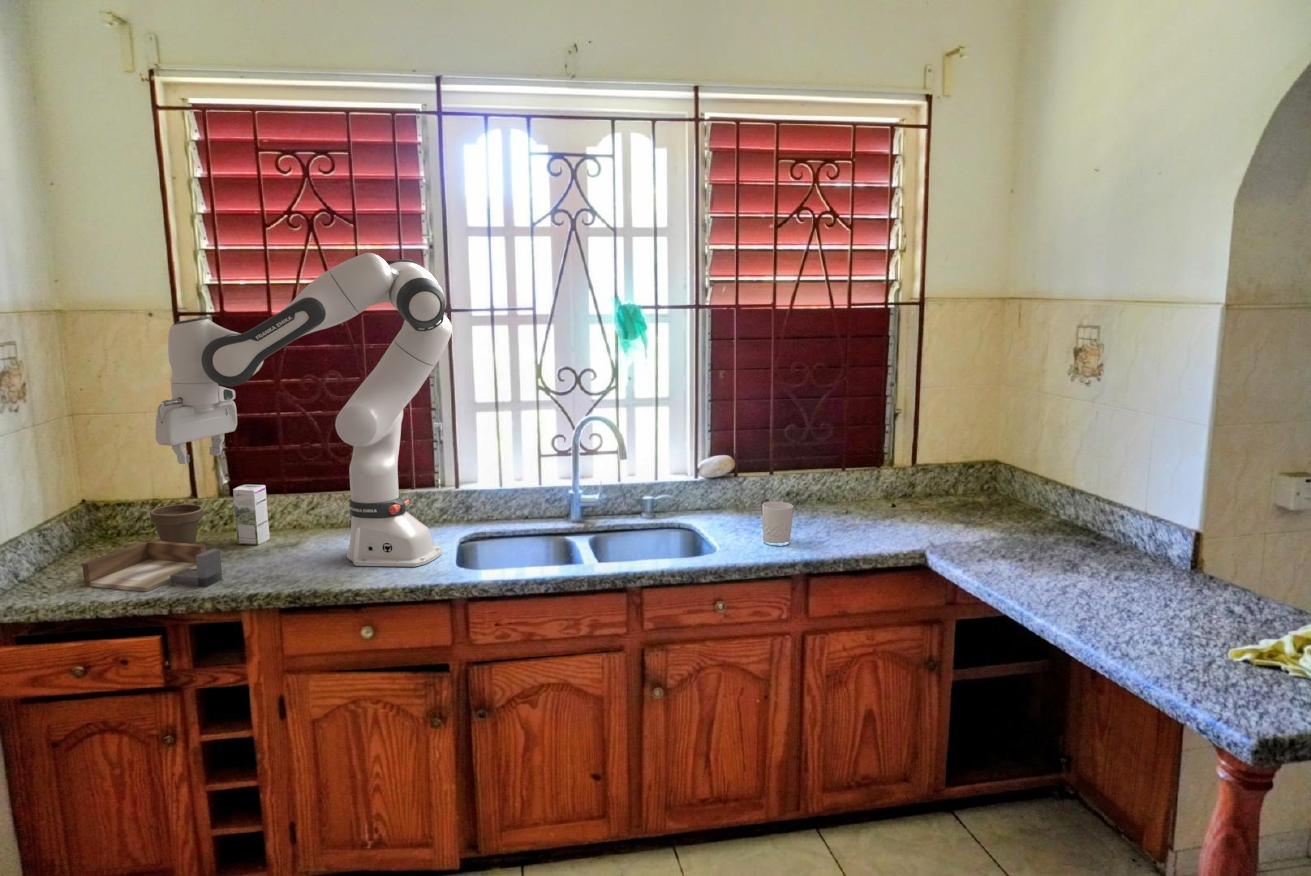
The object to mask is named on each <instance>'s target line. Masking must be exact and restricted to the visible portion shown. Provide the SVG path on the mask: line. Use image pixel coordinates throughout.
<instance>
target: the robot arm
mask: <svg viewBox="0 0 1311 876" xmlns="http://www.w3.org/2000/svg"><path fill="white" fill-rule="evenodd" d="M380 303H390V304H391V305H392V306H393V308H395V310H397V311H398V312H399V314H400V315H401V317H402V318H403V319H404V321H403V324H402V327H401V329H400V330H399V331H398V333H397V335H396V336H395V337H394V339H393V340H392V342H391V344H389V346H388V348H387V349H386V350H385V353H384V354H383V355H382V356H381V358H380V360H379V362H378V363H377V364H376V366H375V367H374V369H373V370H372V371H371V372H370V373H369V374H368V376H367V377H366V378H365V379H364V380H363V382H362V383H361V384H360V386H358V388H357V389H356V390H355V391H354V393H353V394H352V395H351V397H350V398H349V399H348V401H347V402H346V403H345V405H344V406H343V407H342V408H341V410H340V411H339V413H337V416H336V419H335V424H334V425H335V430H336V433H337V435H338V437H339V438H340V439H341V440H342V441H343V442H344V443H345V444H348V445H349V446H353V448H352V449H353V450H352V455H351V461H350V463H349V467H348V470H349V473H348V475H349V488H350V498H349V501H348V506H349V507H348V509H349V516H350V520H351V522H350V524H351V525H350V526H351V527H350V538H349V545H348V549H347V553H346V558H347V559H348V560H350V561H351V562H352V564H353V566H358V567H411V568H412V567H413V568H414V567H420V566H423V565H425V564H428V563H431V562H432V561H434V560H436V559H438V557H440V556H441V555H442V554H443V548H442V546H440V545H435V544H434V543H433V537H432V534H431V533H432V532H431V530H430V528H429V527H427V526H426V525H425V524H423V523H422V522H421V521H419V520H418V519H417V518H416V517H414V516H413V515H411V513H409V512H408V511H407V509H406V506H408V505H409V504H410V500H409V499H407V500H403V499H402V497H401V495H400V494H399V493H400V492H399V474H398V473H399V469H398V467H399V466H398V465H399V463H398V462H399V454H400V453H399V452H400V444H401V432H402V422H403V419H404V409H405V408H406V407H407V405H408V404H409V403H410V402H411V400H412V399H413V398H414V397H415V396H416V395H417V394H418V392H419V391H420V389H421V388H422V386H423V385H424V383H425V382H426V380H427V379H428V378H429V375H430V374H431V373H432V371H433V370H434V369H435V367H436V366H437V364H438V363H439V361H440V359H441V357H442V356H443V353H445V350H446V348H447V346H448V344H449V341H450V338H451V336H452V334H453V325H452V323H451V320H449V318H448V317H447V316H446V314H445V309H446V296H445V293H444V291H443V288H442V287H441V285H440V284H439V282H438V281H437V279H436V278H435V277H434V275H432V273H430V272H429V271H428V270H426V268H425V267H424V266H423V264H420V263H419V262H417V261H414V260H411V259H405V258H403V259H401V258H400V259H397V260H385V259H383V258H382V257H381V256H380V255H378V254H376V253H372V252H365V253H362V254H359V255H357V256H355V257H352V258H349V259H346V260H344V261H343V262H341V263H339V264H337V265H335V266H333V267H332V268H330V269H329V270H326V271H325V272H323V273H321V275H319V276H318V277H316V278H315V279H314V280H312V281H311V282H310V283H309V284H308V285H307V286H306V287H304V289H302V290H301V291H300V292H299V293H298V295H297V296H296V297H294V299H293V300H292V301H291V302H290V303H289V304H288V305H287V306H286V307H284V308H283V309H282V310H280V312H278V313H276V314H274V315H272V316H271V317H269V318H268V319H266V320H264V321H263V322H261V323H259V324H258V325H256V326H255V327H253V328H251V329H249V330H247V331H245V332H243V333H240V332H237V331H233V330H230V329H227V328H225V327H223V326H220V325H218V324H217V323H215V322H213V321H212V320H211V319H209V318H207V317H197V318H196V317H195V318H189V319H184V320H180V321H175V322H174V323H173V324H172V325H171V326H170V327H169V331H168V335H167V336H168V340H167V347H168V349H167V352H168V362H169V365H170V367H171V377H170V391H171V399H165V400H163V401H161V403H160V404H159V406H157V410H156V411H157V412H156V418H155V430H154V431H155V432H154V433H155V441H156V443H157V444H158V445H160V446H169V447H170V446H171V449H172V451H173V453H174V454H175V456H176V457H177V458H176V459H177V460H176V461H177V464H179V465H186V464H189V463H190V462H191V459H190V454H187V453H186V451H185V448H186V443H190V442H193V441H197V440H202V439H206V438H211V439H213V440H212V444H211V445H212V446H211V447H209V455H210V456H220V455H221V454H222V446H223V443H224V440H225V434H227V433H232V432H235V431H236V429H237V426H238V415H237V414H238V413H237V412H238V411H237V406H236V402H235V401H234V400H235V399H236V391H235V390H234V389H232V388H229V387H237V386H240V385H243V384H245V383H246V382H248V381H249V380H250V379H251V378H252V377H253V376H254V375H255V374H257V373H258V372H259V371H260V369H261V368H262V367H263V365H264V362H265V360H266V359H267V358H268V357H269V356H272V355H273V354H275V353H276V352H278V351H279V350H281V349H283V348H284V347H286V346H287V345H289V344H291V343H293V342H294V341H295V340H297V339H299V338H302V337H303V336H306V335H309V334H311V333H315V332H318V331H321V330H325V329H329V328H331V327H335V326H337V325H340V324H342V323H345V322H347V321H350V320H351V319H353V318H354V317H356V316H358V315H359V314H362V312H364V311H365V310H367V309H368V308H370V307H371V306H374V305H377V304H380ZM224 386H225V387H224ZM227 387H228V388H227Z"/></svg>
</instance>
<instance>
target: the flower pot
mask: <svg viewBox="0 0 1311 876" xmlns="http://www.w3.org/2000/svg"><path fill="white" fill-rule="evenodd" d="M149 515H150V517H149V518H150V522H151V523H152V524H154V526H155V528H156V531H157V534H158V537H159V539H160V540H159V541H164V542H176V543H188V544H196V539H197V536H198V529H199V524H200V520H201V519H203V517H204V507H203V506H201V505H199V504H192V503H190V504H189V503H187V504H186V503H181V504H179V503H178V504H170V505H163V506H160V507H155V508H154V509H152V510H150V512H149Z"/></svg>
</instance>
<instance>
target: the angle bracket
mask: <svg viewBox="0 0 1311 876" xmlns="http://www.w3.org/2000/svg"><path fill="white" fill-rule="evenodd" d="M196 566H197V569H191V568H186V569H183V570H181V571H179V572H176V573H174V574H172V575H170V581H171V582H170V585H180V586H190V587H200V588H201V587H202V588H207V587H210V586H212V585H214V584H216V583H218V582H220V581H223V570H222V559H221V549H218V548H211V549H208V550H206V552H203V553H201V554H198V555H196Z"/></svg>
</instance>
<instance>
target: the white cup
mask: <svg viewBox="0 0 1311 876" xmlns="http://www.w3.org/2000/svg"><path fill="white" fill-rule="evenodd" d="M761 508H762V509H761V511H762V516H761V517H762V518H761V519H762V533H763V534H762V537H763V538H762V541H763V540H764V541H765V542H769V543H785V542H789V541H790V542H791V534H792V528H793V527H792V526H793V515H794V513H793V512H794V505H793V504H791V503H789V502H786V501H767V502H763V503H762V504H761Z"/></svg>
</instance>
